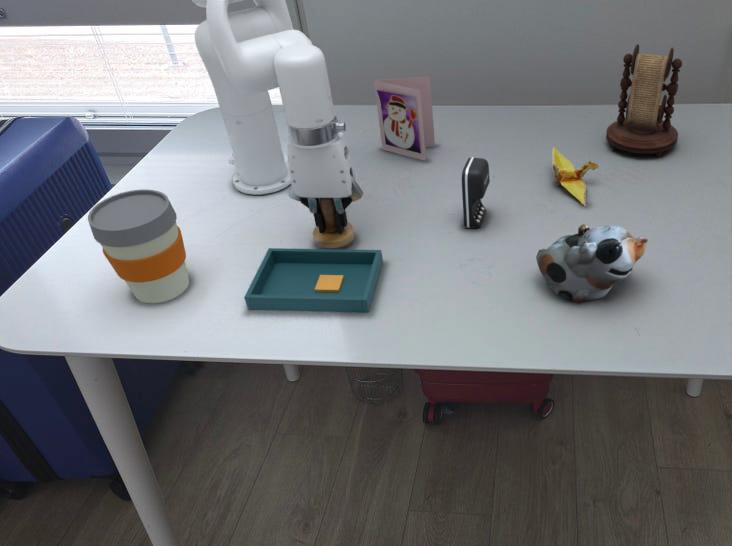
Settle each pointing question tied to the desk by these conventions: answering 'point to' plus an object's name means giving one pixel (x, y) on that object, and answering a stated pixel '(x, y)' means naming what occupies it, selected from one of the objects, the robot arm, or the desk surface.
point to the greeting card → (405, 115)
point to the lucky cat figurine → (590, 261)
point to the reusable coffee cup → (142, 243)
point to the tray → (314, 280)
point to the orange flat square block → (329, 283)
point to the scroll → (646, 105)
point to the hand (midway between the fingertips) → (332, 228)
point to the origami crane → (571, 175)
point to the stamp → (332, 229)
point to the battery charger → (474, 191)
